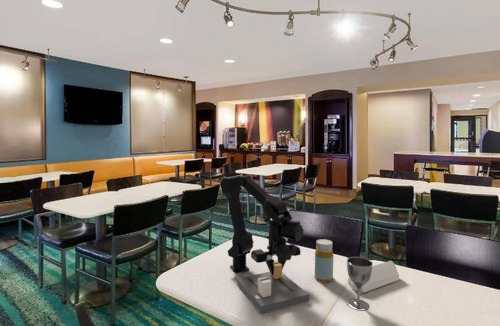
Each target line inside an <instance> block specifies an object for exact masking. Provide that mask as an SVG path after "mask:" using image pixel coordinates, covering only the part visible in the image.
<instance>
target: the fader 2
mask: <svg viewBox="0 0 500 326" xmlns="http://www.w3.org/2000/svg"><path fill="white" fill-rule="evenodd" d="M282 273H283V270H282V264H280V262H278V260H274V263H273V276H272V275H271V273H270V275H271V276H272V277H273V278H274V279H278V278H282Z"/></svg>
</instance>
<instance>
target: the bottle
mask: <svg viewBox="0 0 500 326" xmlns="http://www.w3.org/2000/svg"><path fill="white" fill-rule="evenodd" d="M315 245H316V246H315V248H316V249H315V251H314V279H316V280H317V281H318V282H322V283H329V282H331V281H332V280H333V279H334V252H333V241H332V240H330V239H323V238H322V239H316V241H315Z"/></svg>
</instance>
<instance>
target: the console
mask: <svg viewBox="0 0 500 326" xmlns="http://www.w3.org/2000/svg"><path fill="white" fill-rule="evenodd" d="M265 276H266V277H267V278H269V280H270V281H271V296H267V297H262V296H261V295H260V294H259V293H258V278H261V277H265ZM236 280H237V281H236V285H237V286H238V288H240V290H241V291H242V292H243V293H244V294H245V295H246V297H247V298H248V299H249V301H250V302H251V303H252V304H253V305H254V306H255V308H256V309H257V310H258V312H260V314H265V313H270V312H273V311H277V310H280V309H281V310H282V309H284V308H288V307H292V306H296V305H300V304H303V303H308V302H309V301H310V294H309V293H308V292H307V291H306V290H304V289H303V288H302V287H301V286H300V285H298V284H297V283H295V281H293V280H292V279H291V278H289V277H288V276H287V275H286V274H285V273H283V272H282V278H278V279H274V278H273V277H272V276H271V275H270V271H266V272H261V273H256V274H251V275H247V276H241V277H238V278H237V279H236Z"/></svg>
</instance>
